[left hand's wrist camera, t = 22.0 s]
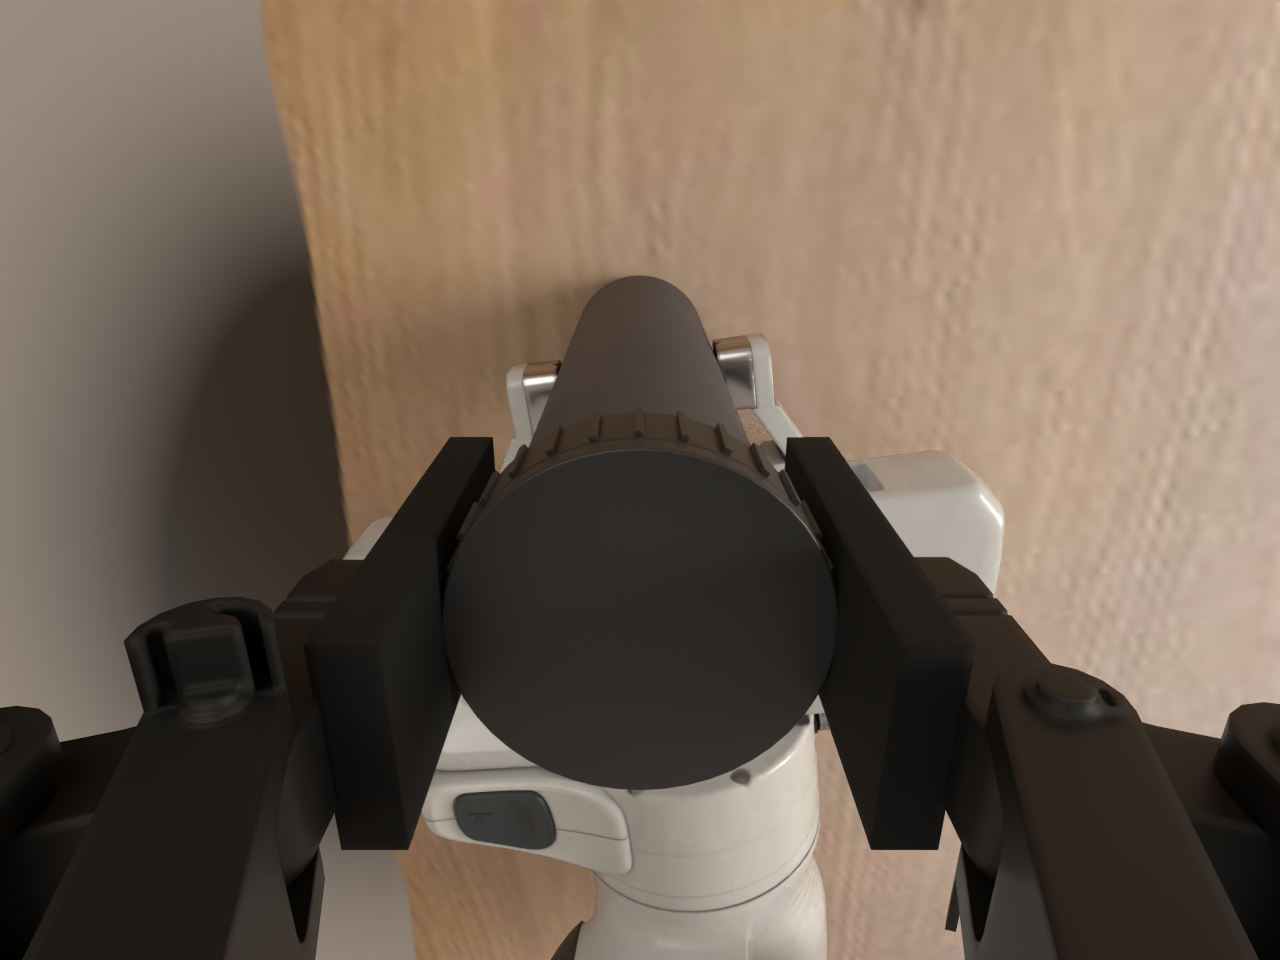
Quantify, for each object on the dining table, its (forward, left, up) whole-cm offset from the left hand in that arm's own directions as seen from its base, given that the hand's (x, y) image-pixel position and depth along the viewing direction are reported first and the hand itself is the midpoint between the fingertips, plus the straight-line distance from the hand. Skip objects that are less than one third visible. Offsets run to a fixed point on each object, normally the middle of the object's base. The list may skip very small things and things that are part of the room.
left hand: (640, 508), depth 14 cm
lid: (0, 0, +4) cm, 4 cm away
